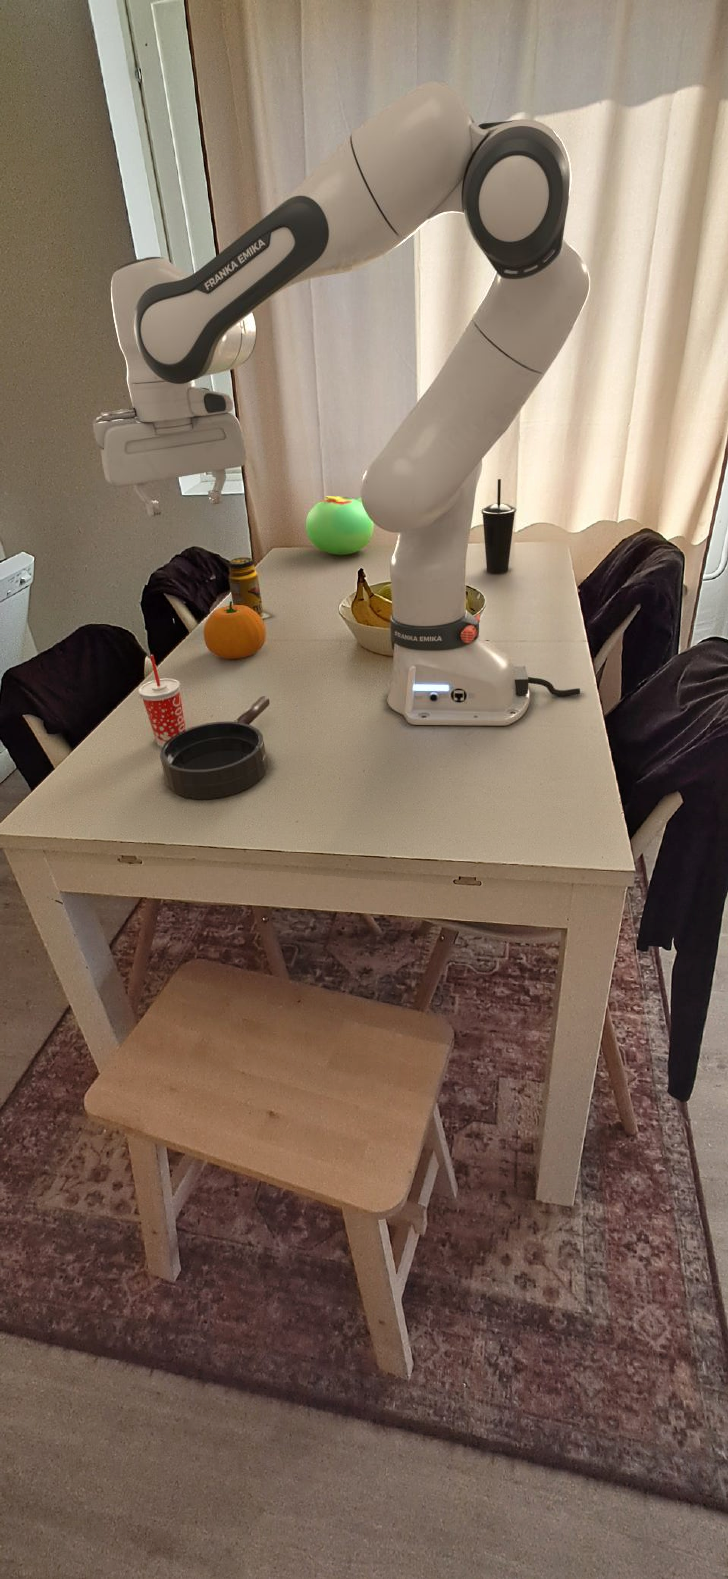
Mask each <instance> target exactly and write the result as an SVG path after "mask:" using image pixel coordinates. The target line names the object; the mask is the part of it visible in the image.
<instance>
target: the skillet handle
mask: <svg viewBox="0 0 728 1579" xmlns="http://www.w3.org/2000/svg"><path fill="white" fill-rule="evenodd" d="M270 702H271V701H270V699H269V697H268V696H265V695H263V696H260V697H259V698H258V699H257V700H256V701H254V702H253V703H252V704H251V705H250V706H249V707H248V708H247V709H246V710H245V711H244V712H243V713H242V714H241V715H240V716H239V717H238V718H236V719H235V720H233V721H232V722H241V723H245V724H248V725H251V724H252V723H253V722H254V721H255V720H256V719H257V718H258V717H259V716H260V715H261V714H262V713H263V712H264V711H265V710H266V709H267V708H268V707H269V705H270V704H271V703H270ZM237 727H239V728H240V726H231V725H230V729H231V732H232V731H233V732H236V733H241V729H239V728H238V729H237ZM234 729H235V730H234ZM238 730H239V731H238ZM237 731H238V732H237Z"/></svg>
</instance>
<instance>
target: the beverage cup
mask: <svg viewBox="0 0 728 1579" xmlns="http://www.w3.org/2000/svg"><path fill="white" fill-rule="evenodd" d="M149 657H150V662H151V665H152V670H153V673H154V674H153V675H154V678H155V679H152V680H150V681H147V682H145V683H143V684H142V685H140V686H139V688H138V694H139V697H140V699H141V700H142V701H143V702H142V703H143V705H144V707H145V711H146V713H147V714H146V715H147V717H148V720H149V724H150V727H151V729H152V733H153V735H154V738H155V741H156V744H157V746H159V747H160V748H162V747H163V745H164V744H165V743H166V742H167V741H168V740H169V739H170V738H171V737H173V736H175V735H176V734H178V733H180V732H182V731H184V730H186V722H185V717H184V709H183V704H182V698H181V690H182V687H181V683H180V681H179V680H177V679H175V678H169V677H165V678H160V677H159V674H158V670H157V665H156V660H155V656H154V654H150V655H149Z"/></svg>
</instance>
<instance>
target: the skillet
mask: <svg viewBox="0 0 728 1579" xmlns="http://www.w3.org/2000/svg"><path fill="white" fill-rule="evenodd" d="M230 725H231V726H240V728H239V727H237V729H238V728H239V729H241V733H236V732H233V731H232V732H231V729H230ZM185 729H186V728H185ZM234 730H235V729H234ZM238 731H239V730H238ZM238 731H237V732H238ZM266 751H267V750H266V746H265V740H264V735H263V733H262V732H261V731H260V730H259V729H258V728H256V727H255V726H253V725H251V724H249V725H248V724H245V723H241V722H233V721H215V722H207V723H201V724H199V725H195V726H192V727H189V728H187V729H186V730H184V731H182V732H180V733H178V734H176V735H175V736H173V737H171V738H170V739H169V740H168V741H167V742H166V743H165V744H164V745H163V747H161V748H160V752H159V753H160V754H159V758H160V762H161V763H160V764H161V766H162V770H163V774H164V779H165V783H166V784H167V787H168V788H169V789H170V790H171V792H174V794H176V795H179V796H182V797H186V798H189V799H190V798H191V799H197V800H198V799H199V800H201V799H203V800H205V799H207V800H208V799H209V800H210V799H215V798H223V797H227V796H230V795H234V794H237V793H240V792H242V791H244V790H246V789H249V788H251V787H252V786H253V785H255V784H256V783H257V782H259V781H260V780H261V779H262V778H263V777H264V776H265V775H266V772H267V770H268V767H269V765H268V758H267V752H266Z"/></svg>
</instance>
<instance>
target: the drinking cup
mask: <svg viewBox="0 0 728 1579" xmlns="http://www.w3.org/2000/svg"><path fill="white" fill-rule="evenodd" d="M501 490H502V478H498V479H497V496H496V498H497V499H496V500H497V502H496V503H492V504H489V505H488V506H485V507H484V508H482V509H481V510H480V512H481V514H482V524H483V537H484V549H485V550H484V551H485V562H486V565H485V566H486V572H487V573H489V574H494V575H495V574H497V575H498V574H505V573H507V572H508V571H509V564H510V557H511V549H512V548H511V547H512V539H513V533H514V532H513V530H514V523H515V522H514V521H515V515H516V512H517V508H516V507H515V506H512V505H510V504H508V503H503V502H501V500H502V498H501V496H502V495H501V494H502V493H501V492H502V491H501Z"/></svg>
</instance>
